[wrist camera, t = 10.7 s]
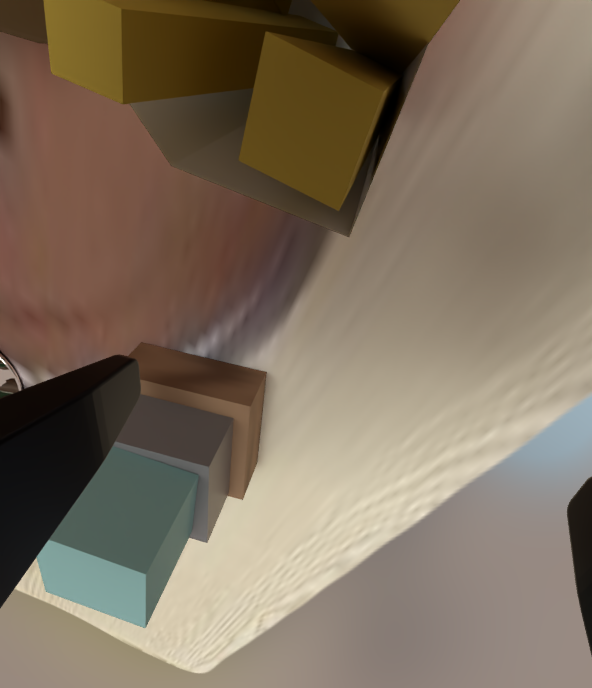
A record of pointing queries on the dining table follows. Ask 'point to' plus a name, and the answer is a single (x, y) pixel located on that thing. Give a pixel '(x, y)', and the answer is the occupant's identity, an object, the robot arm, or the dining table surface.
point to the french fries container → (256, 87)
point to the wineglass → (8, 378)
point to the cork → (24, 19)
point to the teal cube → (122, 537)
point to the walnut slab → (210, 398)
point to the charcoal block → (185, 450)
